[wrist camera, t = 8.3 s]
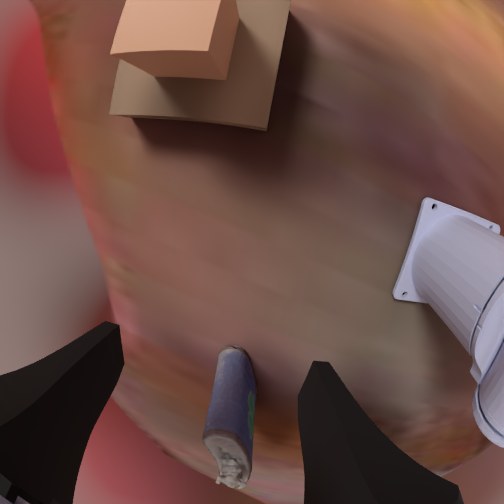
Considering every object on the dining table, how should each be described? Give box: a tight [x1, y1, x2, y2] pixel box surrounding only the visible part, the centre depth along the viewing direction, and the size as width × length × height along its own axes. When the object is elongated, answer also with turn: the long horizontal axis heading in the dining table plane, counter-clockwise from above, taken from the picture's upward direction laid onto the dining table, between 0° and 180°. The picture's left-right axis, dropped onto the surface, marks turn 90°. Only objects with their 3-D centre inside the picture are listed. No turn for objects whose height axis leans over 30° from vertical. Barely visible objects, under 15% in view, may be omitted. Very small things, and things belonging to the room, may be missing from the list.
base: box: [109, 0, 291, 131], centre depth 13 cm, size 9×9×3 cm
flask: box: [203, 345, 257, 489], centre depth 19 cm, size 9×3×11 cm, turn 4°
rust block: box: [110, 0, 240, 80], centre depth 9 cm, size 4×4×5 cm
